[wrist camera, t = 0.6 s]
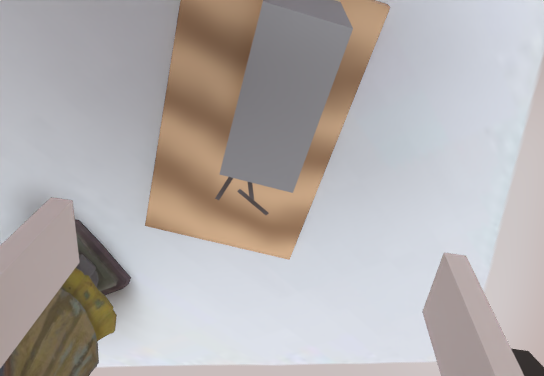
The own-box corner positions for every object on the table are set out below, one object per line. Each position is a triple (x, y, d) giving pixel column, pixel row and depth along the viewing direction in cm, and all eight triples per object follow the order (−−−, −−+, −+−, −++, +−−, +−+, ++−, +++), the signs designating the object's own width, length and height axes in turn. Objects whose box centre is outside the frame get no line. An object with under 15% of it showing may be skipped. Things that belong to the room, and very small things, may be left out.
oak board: (192, -57, 30) (189, -56, 29) (387, 4, 32) (390, 7, 31) (147, 219, 43) (145, 225, 42) (289, 252, 45) (289, 259, 44)
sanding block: (268, -22, 30) (262, 1, 24) (339, -1, 31) (353, 28, 24) (232, 122, 36) (219, 174, 29) (292, 138, 37) (292, 193, 30)
